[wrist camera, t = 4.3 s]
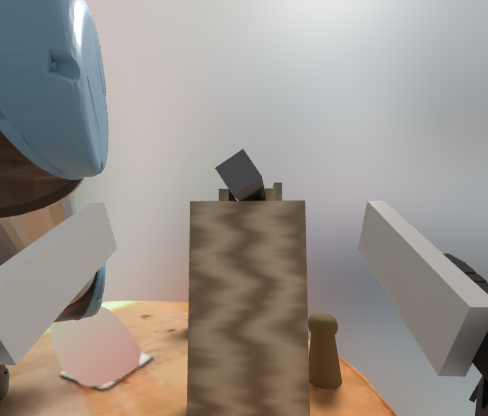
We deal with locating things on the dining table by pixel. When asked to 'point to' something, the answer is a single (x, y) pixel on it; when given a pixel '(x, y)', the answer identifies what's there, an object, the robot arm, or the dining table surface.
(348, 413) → the dining table surface
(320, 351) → the olive pawn
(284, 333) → the tall wooden block
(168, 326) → the dining table surface
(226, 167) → the bar
